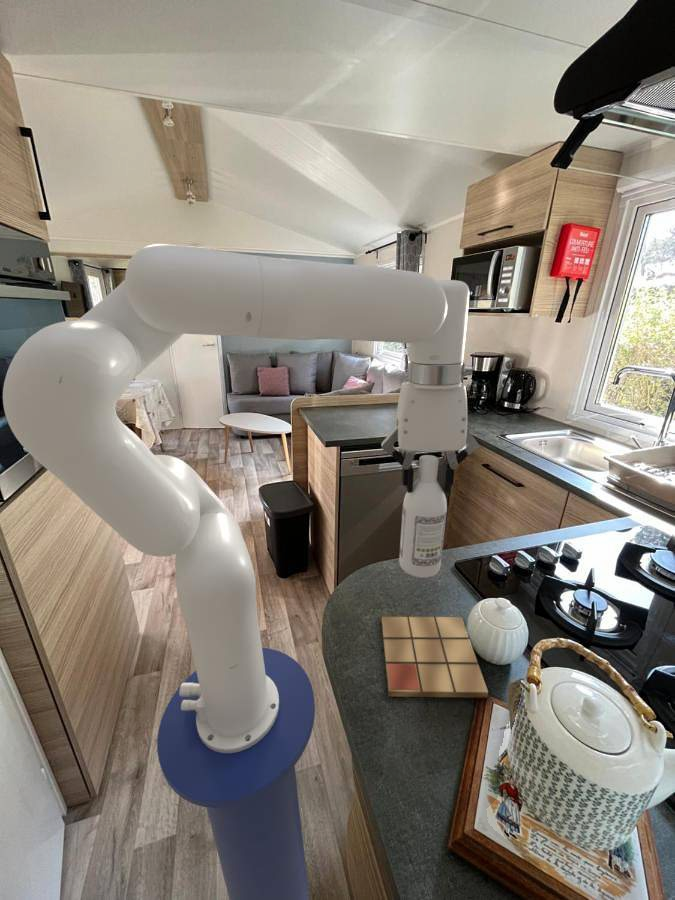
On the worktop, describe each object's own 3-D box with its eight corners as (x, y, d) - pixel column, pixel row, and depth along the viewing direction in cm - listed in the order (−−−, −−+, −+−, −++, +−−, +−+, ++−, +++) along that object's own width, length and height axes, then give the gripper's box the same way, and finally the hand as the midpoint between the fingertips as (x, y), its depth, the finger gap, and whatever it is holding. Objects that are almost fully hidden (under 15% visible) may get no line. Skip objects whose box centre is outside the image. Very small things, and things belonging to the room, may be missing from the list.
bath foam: (448, 569, 65) (462, 460, 58) (420, 585, 61) (431, 470, 54) (418, 549, 70) (427, 447, 63) (390, 563, 66) (397, 456, 59)
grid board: (388, 696, 58) (388, 690, 58) (381, 621, 72) (381, 616, 72) (487, 697, 58) (488, 691, 57) (461, 621, 72) (461, 616, 71)
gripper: (485, 370, 58) (472, 479, 64) (373, 371, 58) (371, 479, 64) (504, 378, 51) (488, 499, 57) (376, 379, 51) (374, 500, 57)
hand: (426, 487), depth 61 cm, fingers closed on bath foam, 5 cm apart
